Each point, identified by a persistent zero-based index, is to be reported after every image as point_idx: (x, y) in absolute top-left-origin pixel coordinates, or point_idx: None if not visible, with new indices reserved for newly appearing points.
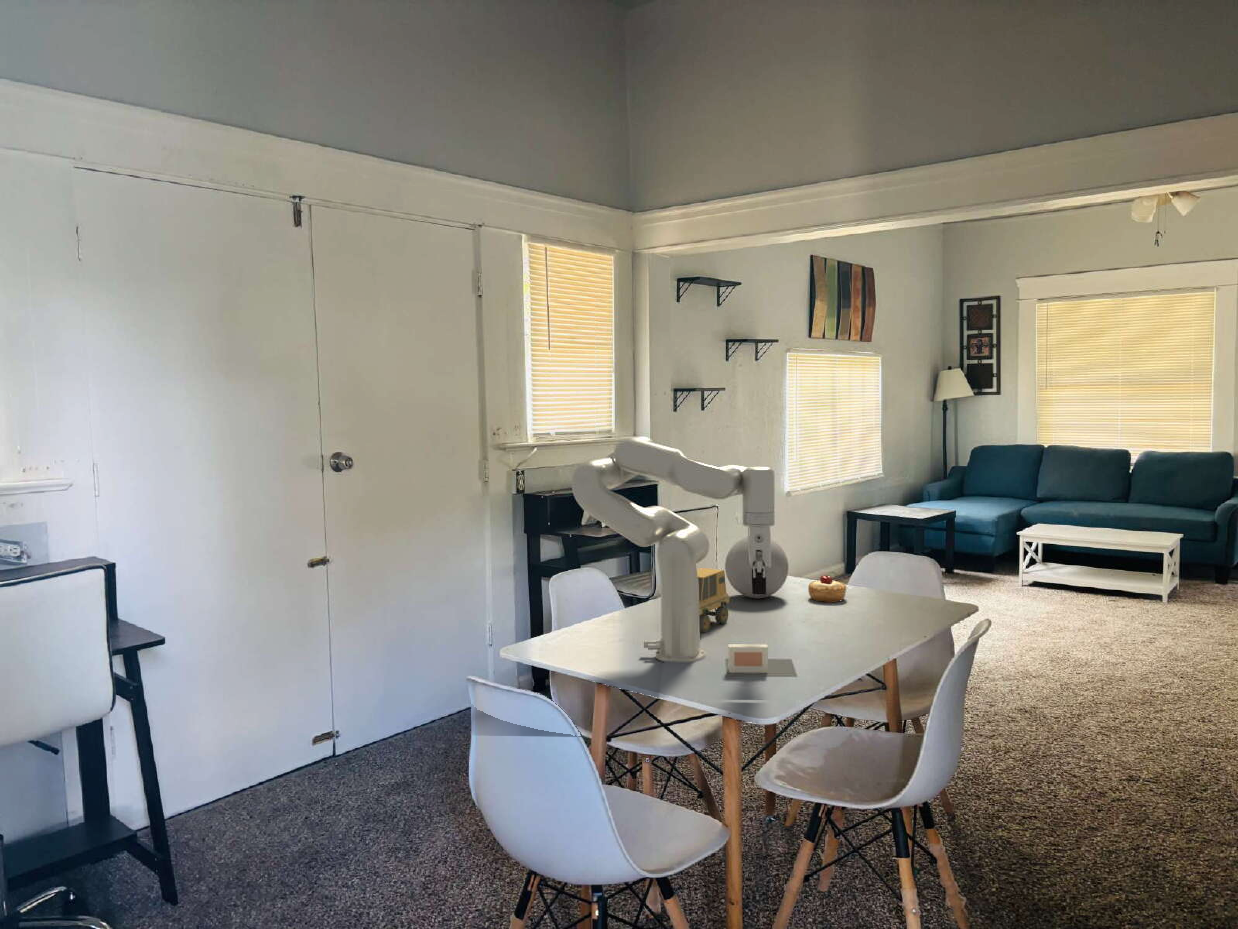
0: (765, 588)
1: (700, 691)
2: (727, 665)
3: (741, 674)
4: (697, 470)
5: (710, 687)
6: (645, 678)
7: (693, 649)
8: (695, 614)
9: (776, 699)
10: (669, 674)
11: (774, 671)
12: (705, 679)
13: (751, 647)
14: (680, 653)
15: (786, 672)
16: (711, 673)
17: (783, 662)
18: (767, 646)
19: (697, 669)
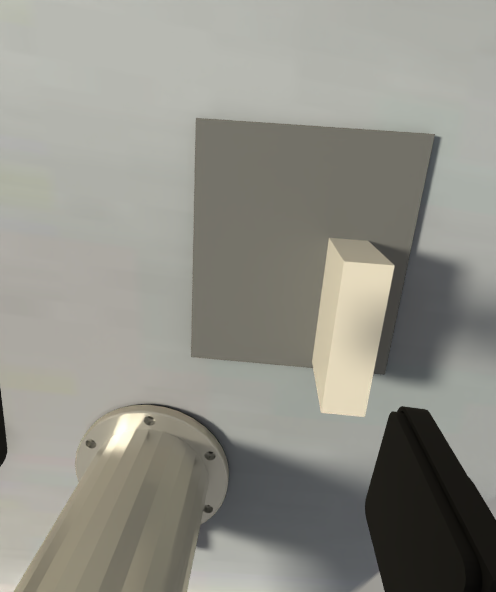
0: (446, 451)
1: (489, 450)
2: (270, 360)
3: None
4: None
5: (459, 422)
6: (348, 555)
7: (189, 466)
8: (143, 574)
9: None
10: (319, 504)
11: (357, 214)
12: (379, 427)
13: (380, 333)
14: (205, 493)
15: (375, 169)
16: None
17: (242, 159)
18: (378, 264)
19: (277, 436)
